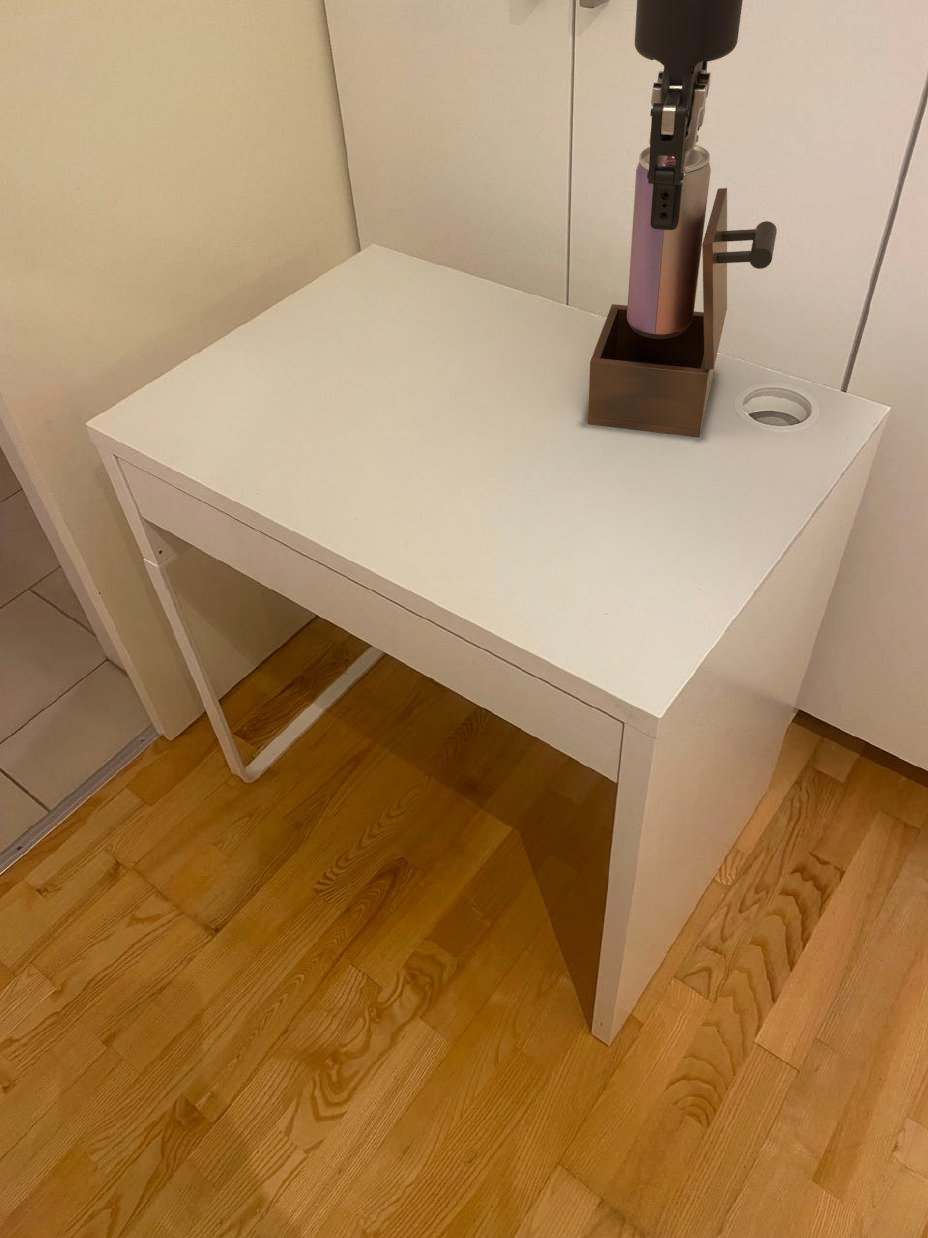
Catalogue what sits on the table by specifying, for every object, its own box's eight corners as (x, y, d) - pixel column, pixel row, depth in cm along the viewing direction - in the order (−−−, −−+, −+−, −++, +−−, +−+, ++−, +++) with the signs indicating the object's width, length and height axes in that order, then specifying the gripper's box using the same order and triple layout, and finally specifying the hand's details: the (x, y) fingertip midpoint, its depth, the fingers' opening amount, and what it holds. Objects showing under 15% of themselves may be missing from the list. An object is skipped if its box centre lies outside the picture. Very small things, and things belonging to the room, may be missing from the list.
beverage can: (620, 338, 87) (631, 168, 76) (632, 305, 91) (643, 139, 80) (687, 344, 85) (707, 172, 74) (696, 310, 89) (716, 142, 78)
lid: (702, 243, 76) (770, 240, 74) (717, 188, 83) (780, 183, 81) (704, 369, 84) (766, 368, 82) (718, 309, 91) (775, 307, 89)
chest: (587, 423, 92) (589, 361, 87) (608, 364, 99) (611, 303, 94) (699, 437, 89) (708, 374, 84) (713, 375, 96) (722, 313, 91)
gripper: (735, 5, 63) (704, 253, 75) (755, -51, 72) (725, 177, 84) (620, 4, 64) (609, 246, 77) (654, -51, 74) (639, 173, 86)
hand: (670, 209), depth 80 cm, fingers closed on beverage can, 6 cm apart
